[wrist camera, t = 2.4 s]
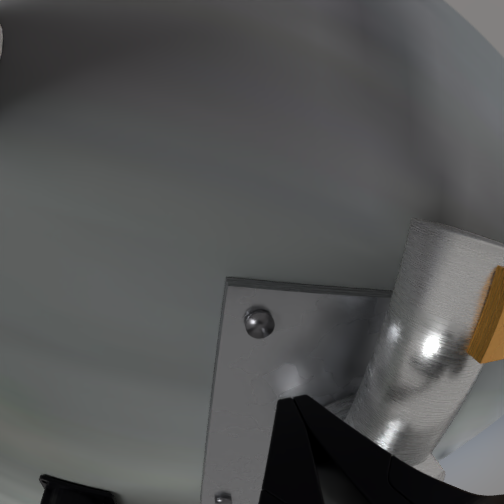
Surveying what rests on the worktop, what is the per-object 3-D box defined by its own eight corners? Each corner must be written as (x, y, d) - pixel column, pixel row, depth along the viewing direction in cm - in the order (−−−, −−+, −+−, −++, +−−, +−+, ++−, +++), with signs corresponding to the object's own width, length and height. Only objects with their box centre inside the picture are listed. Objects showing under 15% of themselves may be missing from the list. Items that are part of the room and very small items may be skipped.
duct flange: (200, 499, 18) (202, 534, 15) (226, 277, 14) (233, 313, 10) (383, 479, 21) (397, 505, 18) (479, 295, 16) (514, 317, 13)
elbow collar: (372, 460, 18) (407, 525, 12) (277, 473, 16) (299, 554, 10) (468, 229, 13) (564, 268, 7) (355, 203, 12) (467, 245, 6)
